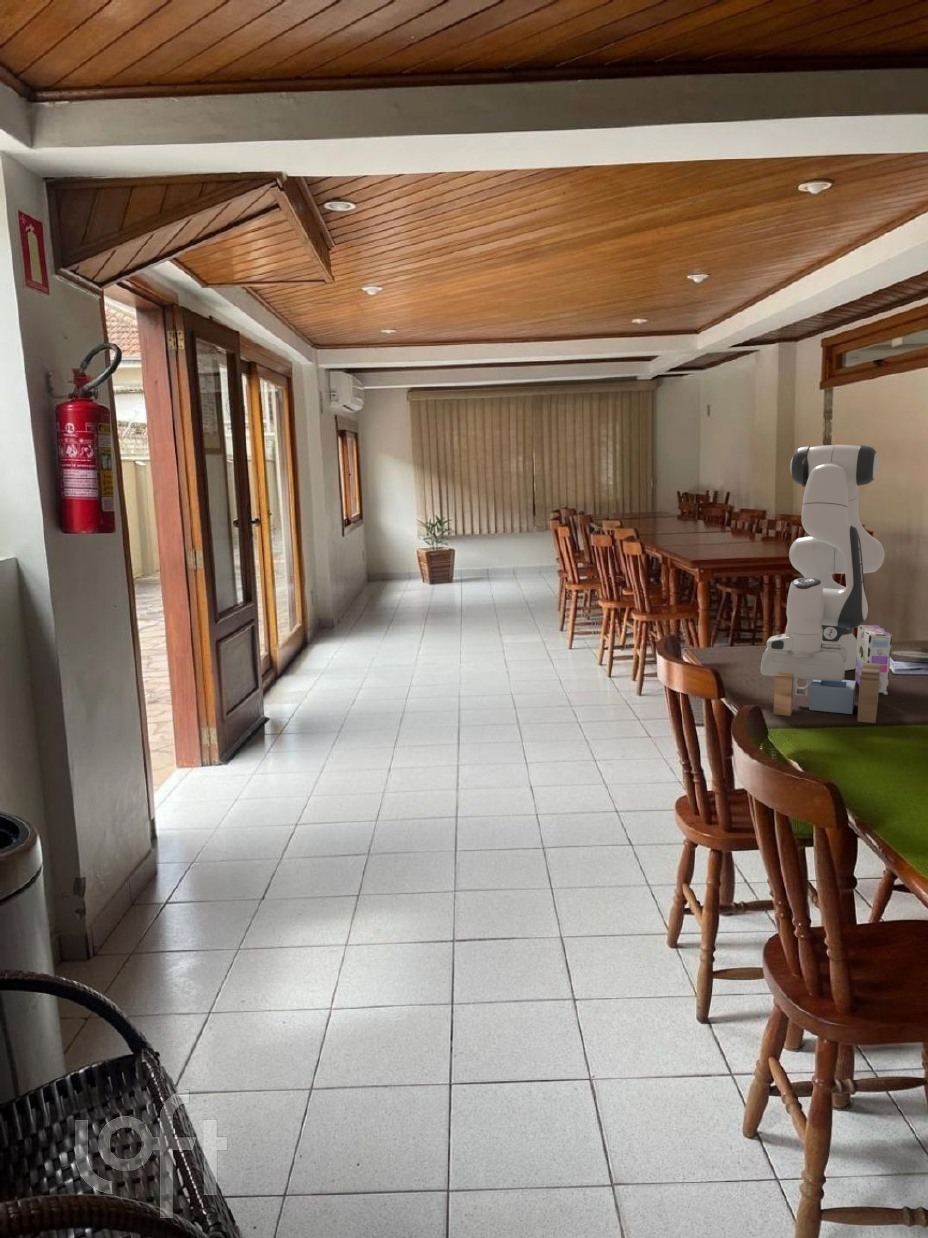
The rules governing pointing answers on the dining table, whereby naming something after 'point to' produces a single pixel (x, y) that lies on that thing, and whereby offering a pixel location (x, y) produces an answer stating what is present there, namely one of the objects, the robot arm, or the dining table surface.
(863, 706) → the wall
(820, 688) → the socket block
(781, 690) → the tan wooden block
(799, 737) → the dining table surface
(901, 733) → the dining table surface
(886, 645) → the candy box
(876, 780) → the dining table surface
